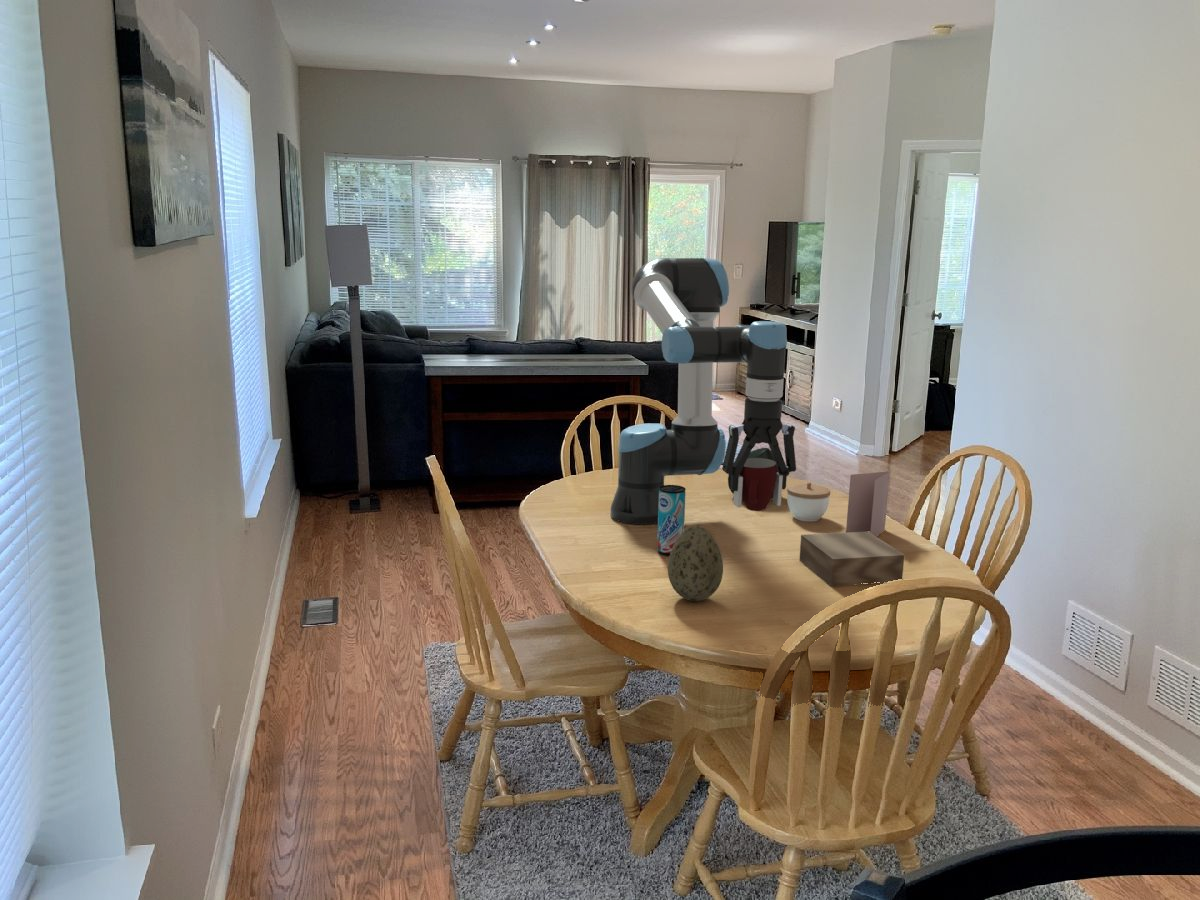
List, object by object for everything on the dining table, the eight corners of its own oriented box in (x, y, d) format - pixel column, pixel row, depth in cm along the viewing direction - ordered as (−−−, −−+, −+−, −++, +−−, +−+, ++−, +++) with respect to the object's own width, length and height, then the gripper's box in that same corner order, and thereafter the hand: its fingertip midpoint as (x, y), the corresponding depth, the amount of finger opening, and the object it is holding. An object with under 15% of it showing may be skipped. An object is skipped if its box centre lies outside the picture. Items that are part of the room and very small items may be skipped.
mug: (776, 518, 190) (777, 471, 188) (736, 517, 191) (736, 471, 189) (775, 503, 200) (776, 458, 198) (737, 502, 201) (738, 457, 199)
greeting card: (882, 529, 231) (887, 470, 227) (901, 538, 224) (907, 477, 221) (843, 533, 227) (848, 473, 223) (862, 542, 220) (867, 481, 216)
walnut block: (830, 586, 192) (833, 559, 190) (799, 560, 207) (801, 534, 206) (901, 582, 195) (904, 555, 193) (865, 556, 210) (867, 531, 209)
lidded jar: (817, 527, 231) (820, 490, 229) (778, 518, 237) (780, 483, 235) (834, 517, 240) (837, 482, 237) (796, 509, 246) (799, 475, 244)
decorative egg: (701, 586, 191) (704, 515, 187) (732, 604, 182) (736, 530, 178) (656, 594, 186) (658, 522, 182) (686, 613, 177) (689, 538, 173)
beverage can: (651, 551, 211) (653, 487, 208) (668, 546, 215) (671, 483, 212) (671, 558, 207) (673, 493, 204) (688, 552, 211) (691, 488, 208)
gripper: (721, 402, 184) (715, 512, 190) (819, 400, 189) (810, 507, 194) (709, 395, 192) (703, 501, 197) (804, 393, 196) (796, 497, 201)
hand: (757, 504), depth 195 cm, fingers closed on mug, 8 cm apart
